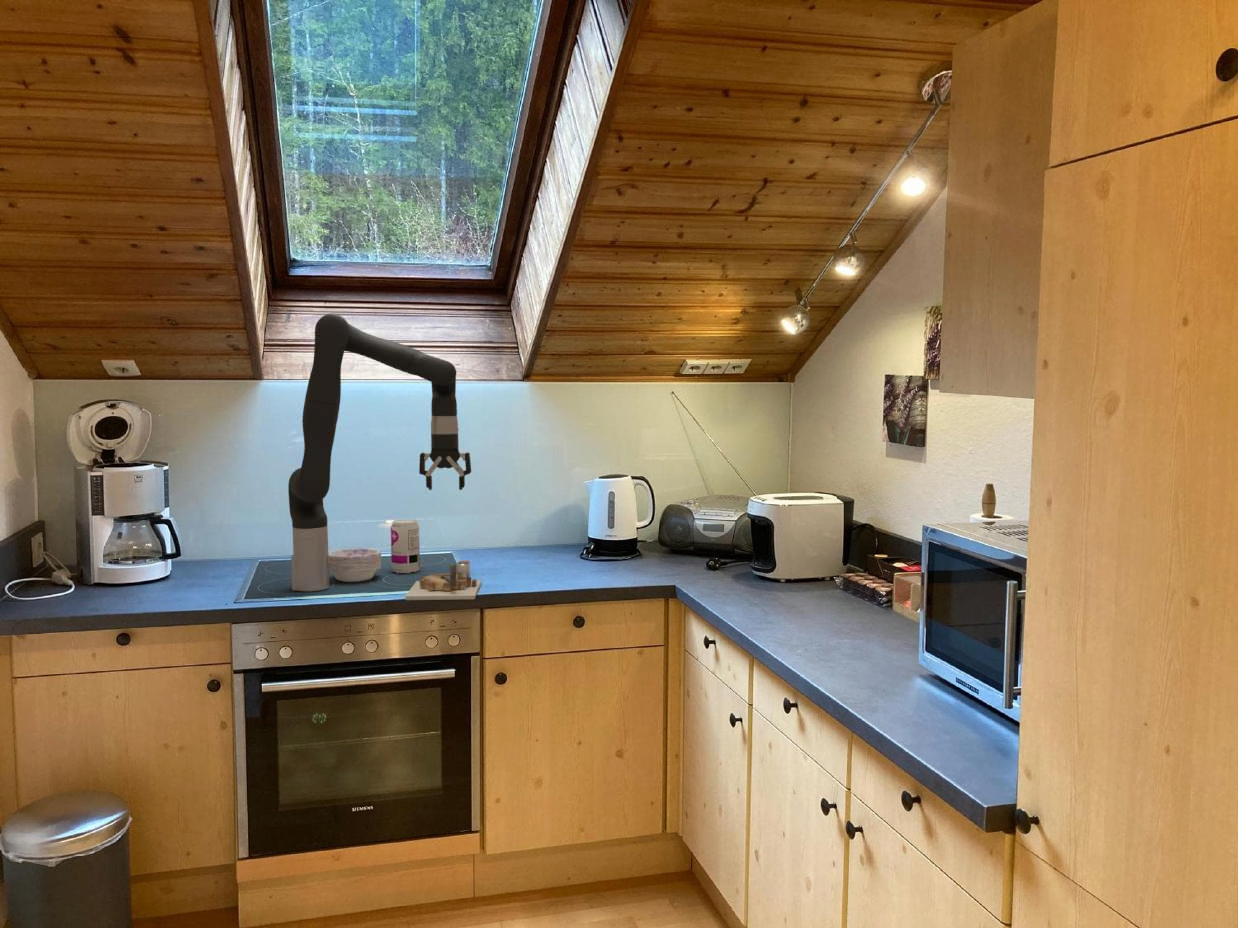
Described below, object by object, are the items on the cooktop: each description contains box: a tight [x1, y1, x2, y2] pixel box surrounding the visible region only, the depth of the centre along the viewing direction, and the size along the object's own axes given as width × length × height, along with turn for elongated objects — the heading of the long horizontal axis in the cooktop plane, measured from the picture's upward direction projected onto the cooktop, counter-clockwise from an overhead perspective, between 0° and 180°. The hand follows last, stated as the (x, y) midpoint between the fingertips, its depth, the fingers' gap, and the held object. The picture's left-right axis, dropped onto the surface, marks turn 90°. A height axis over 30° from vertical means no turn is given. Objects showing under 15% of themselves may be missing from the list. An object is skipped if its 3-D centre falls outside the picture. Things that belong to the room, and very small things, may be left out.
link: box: [456, 560, 471, 579], centre depth 280 cm, size 3×6×4 cm, turn 2°
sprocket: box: [418, 564, 472, 591], centre depth 279 cm, size 14×16×7 cm
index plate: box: [404, 578, 482, 601], centre depth 278 cm, size 18×19×3 cm
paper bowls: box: [328, 548, 382, 583], centre depth 294 cm, size 15×15×8 cm
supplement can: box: [390, 519, 421, 574], centre depth 304 cm, size 8×8×15 cm
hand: (445, 489), depth 289 cm, fingers open, 8 cm apart
